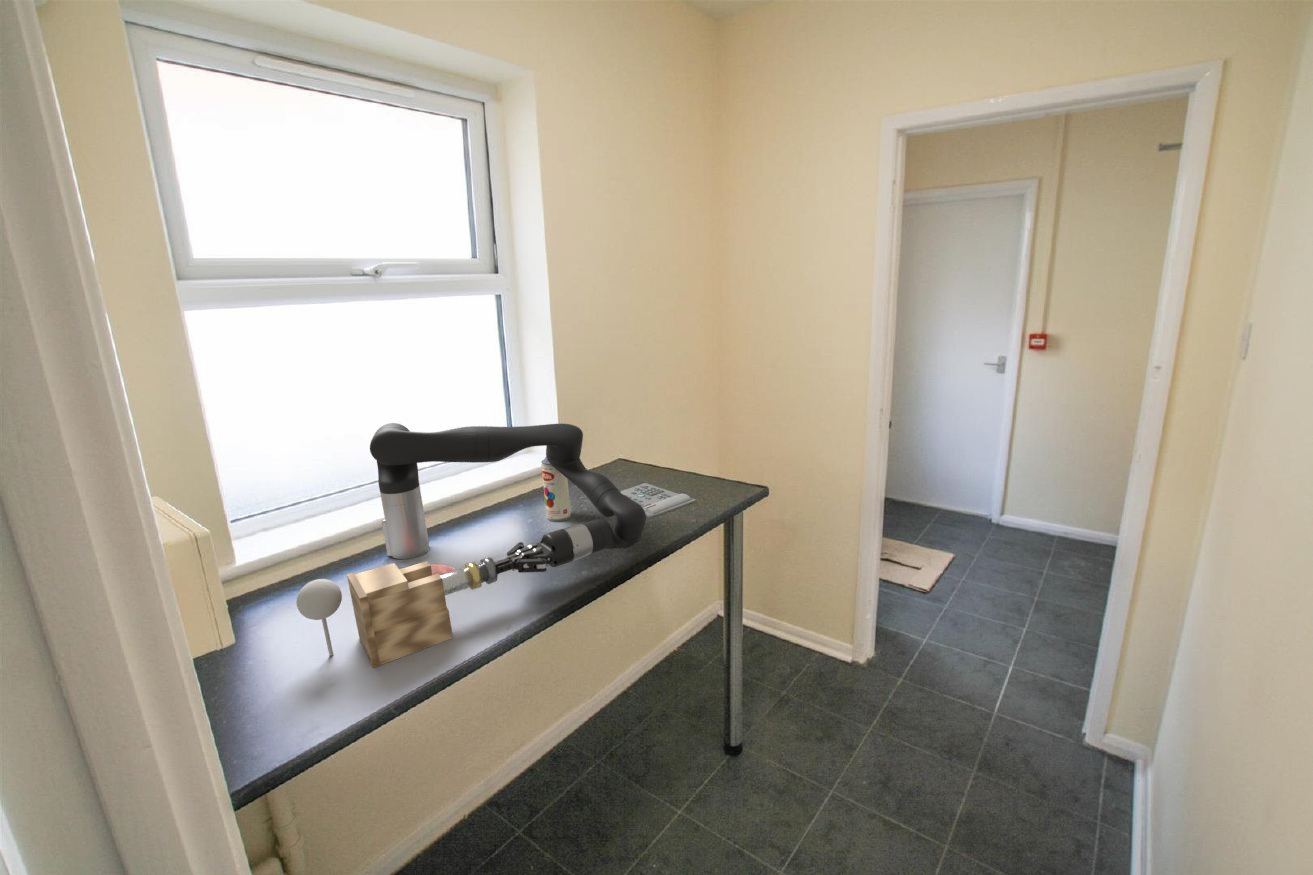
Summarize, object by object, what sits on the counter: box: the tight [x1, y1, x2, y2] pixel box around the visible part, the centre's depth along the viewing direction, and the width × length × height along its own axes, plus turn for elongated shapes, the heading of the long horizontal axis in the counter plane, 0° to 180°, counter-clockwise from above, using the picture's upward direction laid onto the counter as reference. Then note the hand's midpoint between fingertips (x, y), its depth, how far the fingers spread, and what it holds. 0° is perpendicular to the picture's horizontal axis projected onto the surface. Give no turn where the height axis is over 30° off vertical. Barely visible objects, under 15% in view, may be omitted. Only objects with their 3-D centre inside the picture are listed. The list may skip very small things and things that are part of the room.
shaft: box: [440, 556, 499, 596], centre depth 119 cm, size 17×5×5 cm, turn 126°
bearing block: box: [346, 560, 454, 668], centre depth 114 cm, size 14×12×14 cm
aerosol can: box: [541, 456, 572, 523], centre depth 171 cm, size 7×7×20 cm
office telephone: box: [620, 482, 697, 518], centre depth 182 cm, size 23×3×20 cm
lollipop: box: [296, 578, 343, 657], centre depth 110 cm, size 7×7×15 cm
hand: (492, 569), depth 124 cm, fingers closed
